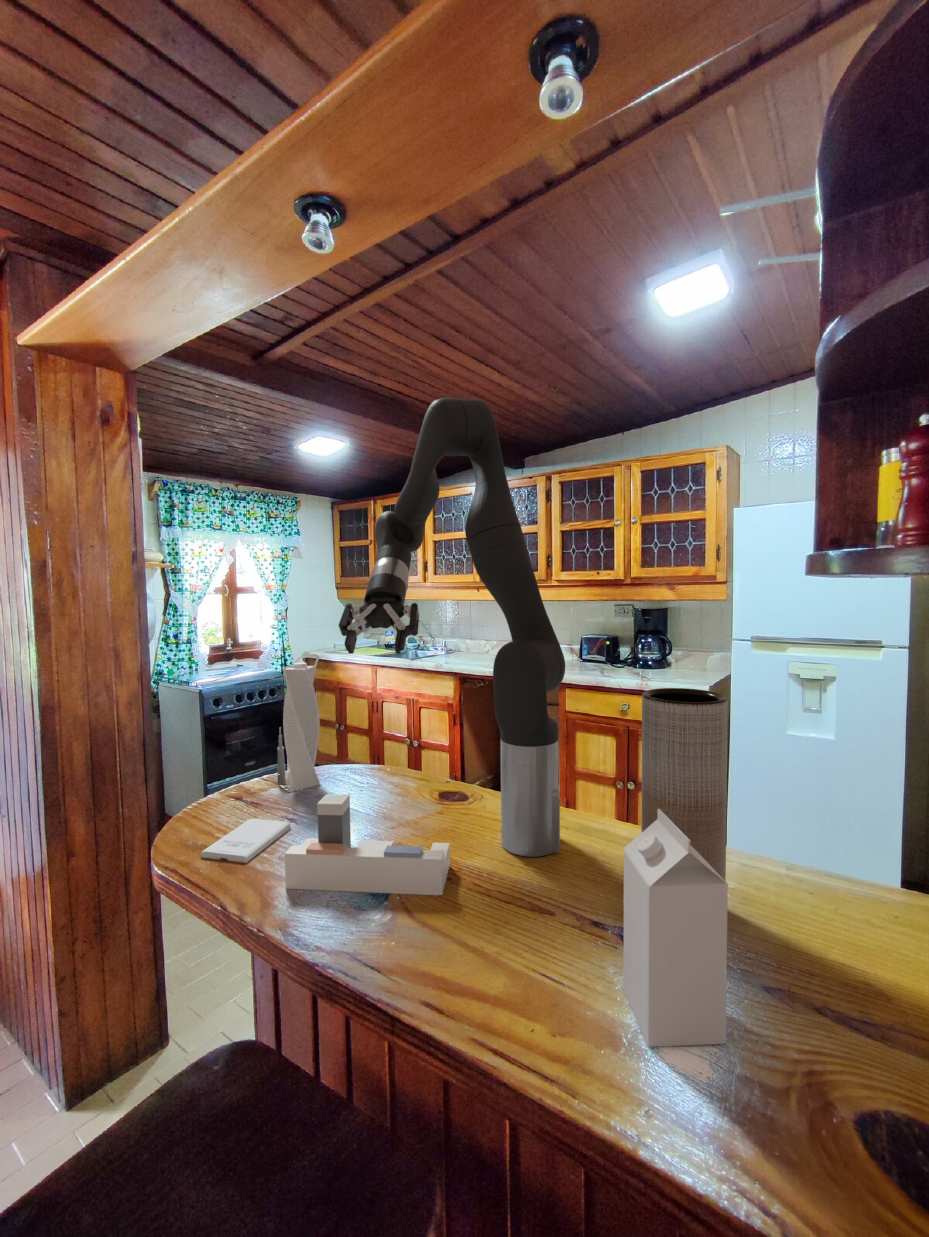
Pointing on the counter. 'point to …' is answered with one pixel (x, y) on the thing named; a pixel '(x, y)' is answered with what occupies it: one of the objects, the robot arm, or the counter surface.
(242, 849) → the external hard drive
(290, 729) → the skyscraper
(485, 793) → the counter surface
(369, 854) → the socket strip
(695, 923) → the milk carton
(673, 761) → the vase
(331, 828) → the grey tall block
